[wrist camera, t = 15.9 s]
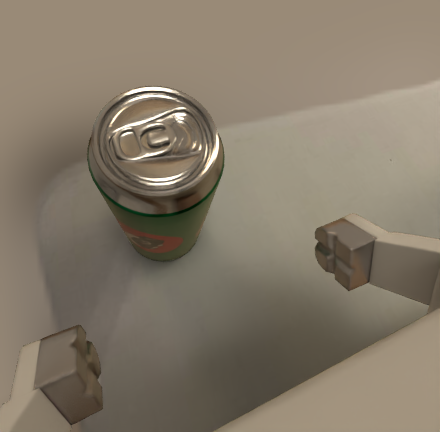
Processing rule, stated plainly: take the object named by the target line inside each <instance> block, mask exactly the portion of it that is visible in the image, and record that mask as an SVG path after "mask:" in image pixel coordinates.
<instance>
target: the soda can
mask: <svg viewBox="0 0 440 432" xmlns="http://www.w3.org/2000/svg"><path fill="white" fill-rule="evenodd" d="M87 160H88V166H89V171H90V173H91V176H92V179H93V181H94V182H95V184H96V186H97V188H98V189H99V191H100V193H101V194H102V196H103V198H104V199H105V201H106V203H107V204H108V206H109V208H110V209H111V211H112V213H113V214H114V216H115V218H116V219H117V221H118V223H119V224H120V226H121V228H122V229H123V231H124V233H125V234H126V236H127V238H128V239H129V241H130V243H131V244H132V246H133V247H134V248H135V249H136V251H138V252H139V253H140V254H141V255H143V256H144V257H146V258H149V259H151V260H156V261H170V260H174V259H177V258H180V257H181V256H183V255H185V254H186V253H187V252H189V251H190V250H191V248H192V247H193V246H194V245H195V243H196V241H197V239H198V237H199V234H200V231H201V229H202V226H203V223H204V221H205V218H206V216H207V213H208V210H209V208H210V205H211V202H212V200H213V197H214V195H215V192H216V189H217V187H218V184H219V181H220V179H221V176H222V173H223V168H224V148H223V144H222V141H221V138H220V136H219V134H218V132H217V129H216V126H215V123H214V121H213V119H212V117H211V116H210V114H209V113H208V112H207V110H206V109H205V108H204V107H203V106H202V105H201V104H200V103H199V102H198V101H196V100H195V99H194V98H192V97H191V96H189V95H187V94H186V93H183V92H181V91H178V90H175V89H172V88H168V87H161V86H145V87H138V88H135V89H131V90H128V91H126V92H123V93H121V94H120V95H118V96H116V97H115V98H113V99H112V100H111V101H110V102H108V103H107V104H106V105H105V107H104V108H103V109H102V110H101V111H100V113H99V115H98V116H97V118H96V120H95V123H94V125H93V130H92V135H91V138H90V140H89V145H88V154H87Z"/></svg>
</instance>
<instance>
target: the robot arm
mask: <svg viewBox="0 0 440 432" xmlns="http://www.w3.org/2000/svg"><path fill="white" fill-rule="evenodd" d="M315 239H316V240H317V241H319V242H318V243H317V245H316V247H315V256H316V258H317V261H318V263H319V264H320V266H321V267H322V268H323V269H324V270H325V271H326V272H329V273H333V274H334V275H335V280H336V281H338V282H339V283H340V284H341V285H342V286H343V287H344V288H346V289H347V290H348V291H350V290H353V289H355V288H357V287H359V286H362V285H364V284H366V283H370V284H372V285H375V286H378V287H380V288H383V289H386V290H389V291H391V292H394V293H397V294H399V295H402V296H405V297H408V298H410V299H413V300H416V301H418V302H421V303H424V304H427V305H429V308H428V312H427V315H425V316H424V317H422V318H420V319H418V320H416V321H414V322H413V323H411V324H409V325H407V326H405V327H403V328H402V329H400V330H398V331H396V332H394V333H392V334H391V335H389V336H387V337H385V338H383V339H381V340H380V341H378V342H376V343H374V344H372V345H370V346H369V347H367V348H365V349H363V350H361V351H359V352H358V353H356V354H354V355H352V356H350V357H348V358H347V359H345V360H343V361H341V362H339V363H337V364H336V365H334V366H332V367H330V368H328V369H326V370H325V371H323V372H321V373H319V374H317V375H316V376H314V377H312V378H310V379H308V380H306V381H305V382H303V383H301V384H299V385H297V386H295V387H294V388H292V389H290V390H288V391H286V392H284V393H283V394H281V395H279V396H277V397H275V398H273V399H272V400H270V401H268V402H266V403H264V404H262V405H261V406H259V407H257V408H255V409H253V410H252V411H250V412H248V413H246V414H244V415H242V416H241V417H239V418H237V419H235V420H233V421H231V422H230V423H228V424H226V425H224V426H222V427H220V428H219V429H217V430H215V431H213V432H440V239H436V238H429V237H423V236H417V235H411V234H404V233H398V232H392V233H389V232H387V231H385V230H384V229H382V228H380V227H378V226H377V225H375V224H373V223H371V222H370V221H368V220H366V219H364V218H362V217H361V216H359V215H357V214H353V213H352V214H349V215H347V216H345V217H342V218H340V219H338V220H336V221H333V222H331V223H328V224H326V225H324V226H321V227H319V228H317V229H316V231H315ZM100 374H101V367H100V361H99V357H98V353H97V351H96V349H95V347H94V345H93V343H92V342H89V341H86V332H85V330H84V329H83V327H82V326H81V325H76V326H73V327H71V328H68V329H66V330H63V331H60V332H58V333H55V334H52V335H50V336H47V337H45V338H43V339H40V340H38V341H35V342H32V343H30V344H27V345H24V346H23V347H22V349H21V350H20V353H19V358H18V362H17V367H16V371H15V376H14V381H13V386H12V390H11V395H10V400H9V401H8V402H6V403H4V404H3V405H2V406H1V407H0V432H70V431H71V428H72V426H71V425H73V424H75V423H77V422H79V421H81V420H83V419H85V418H87V417H89V416H90V415H92V414H94V413H96V412H98V411H100V410H102V409H103V397H102V386H101V385H100V383H99V382H98V378H99V376H100Z"/></svg>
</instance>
